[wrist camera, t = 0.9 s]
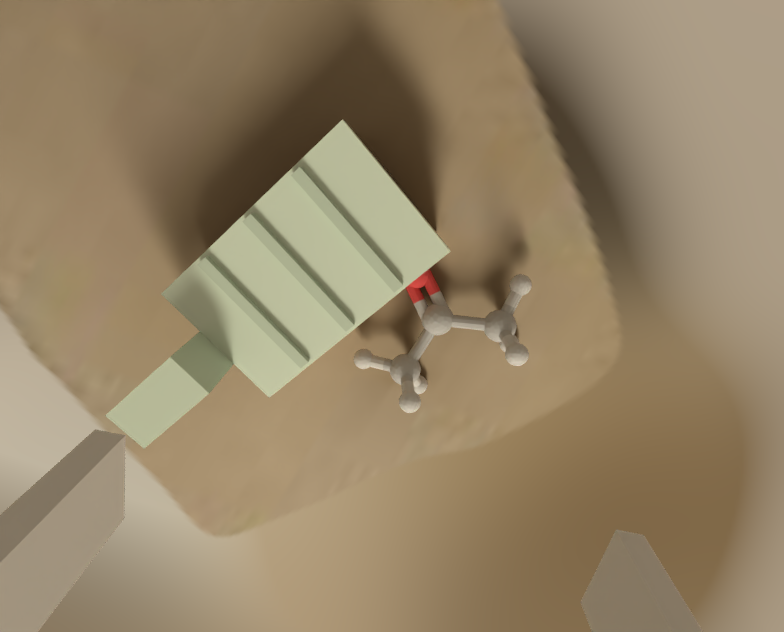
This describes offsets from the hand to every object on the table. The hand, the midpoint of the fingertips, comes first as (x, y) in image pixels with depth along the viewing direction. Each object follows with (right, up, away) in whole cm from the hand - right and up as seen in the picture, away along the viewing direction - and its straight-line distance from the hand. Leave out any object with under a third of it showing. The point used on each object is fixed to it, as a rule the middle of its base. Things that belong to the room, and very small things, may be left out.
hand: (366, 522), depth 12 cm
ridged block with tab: (-7, +7, +18) cm, 20 cm away
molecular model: (+5, +5, +25) cm, 26 cm away
